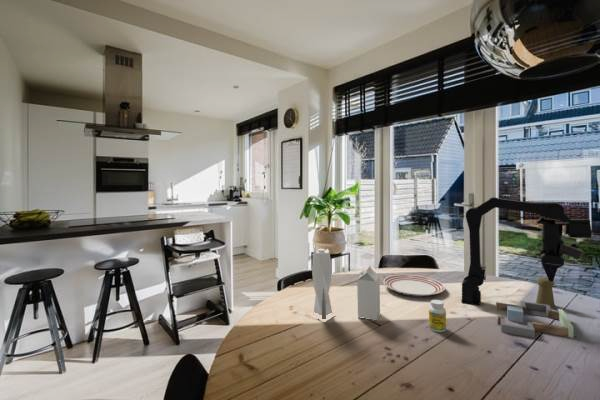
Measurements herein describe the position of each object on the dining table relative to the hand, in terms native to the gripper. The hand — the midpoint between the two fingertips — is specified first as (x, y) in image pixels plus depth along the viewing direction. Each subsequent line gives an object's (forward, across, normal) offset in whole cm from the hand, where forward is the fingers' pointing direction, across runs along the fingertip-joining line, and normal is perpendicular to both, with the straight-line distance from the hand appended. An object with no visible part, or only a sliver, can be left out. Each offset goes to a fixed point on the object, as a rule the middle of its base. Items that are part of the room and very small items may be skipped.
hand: (550, 277), depth 113 cm
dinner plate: (+15, 0, +50) cm, 52 cm away
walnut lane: (+14, -11, +6) cm, 19 cm away
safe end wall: (+14, -10, -4) cm, 17 cm away
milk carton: (+15, -39, +55) cm, 69 cm away
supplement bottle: (+15, -35, +31) cm, 49 cm away
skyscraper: (+16, -48, +70) cm, 86 cm away
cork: (+14, +10, +1) cm, 17 cm away
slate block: (+14, -11, +10) cm, 21 cm away
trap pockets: (+14, -11, +6) cm, 19 cm away
